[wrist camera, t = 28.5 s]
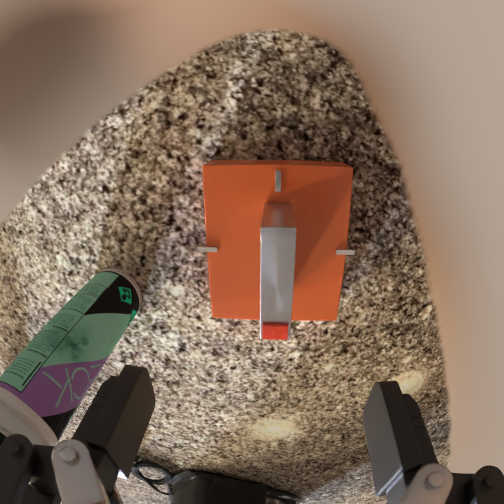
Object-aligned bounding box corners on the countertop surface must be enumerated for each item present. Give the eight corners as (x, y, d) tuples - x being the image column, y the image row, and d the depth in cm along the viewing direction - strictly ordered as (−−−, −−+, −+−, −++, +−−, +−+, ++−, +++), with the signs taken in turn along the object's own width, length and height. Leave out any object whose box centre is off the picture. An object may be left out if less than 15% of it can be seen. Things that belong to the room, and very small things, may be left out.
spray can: (103, 315, 29) (0, 465, 11) (87, 268, 27) (-49, 412, 9) (148, 316, 29) (52, 494, 10) (133, 265, 27) (-4, 441, 8)
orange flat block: (203, 160, 23) (192, 165, 20) (351, 162, 22) (362, 168, 19) (211, 298, 27) (204, 318, 24) (337, 301, 26) (344, 321, 24)
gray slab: (264, 201, 20) (259, 228, 15) (291, 201, 20) (296, 229, 15) (263, 293, 23) (259, 341, 18) (287, 293, 23) (289, 342, 18)
